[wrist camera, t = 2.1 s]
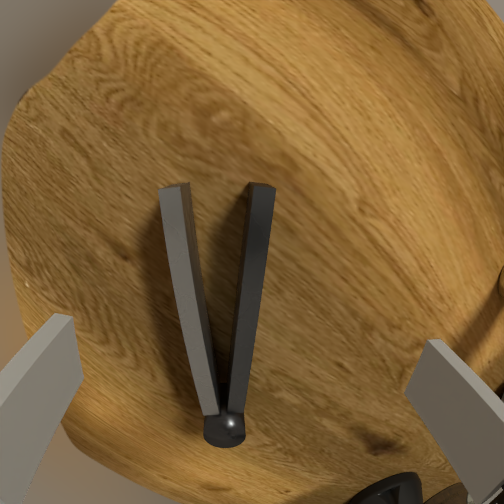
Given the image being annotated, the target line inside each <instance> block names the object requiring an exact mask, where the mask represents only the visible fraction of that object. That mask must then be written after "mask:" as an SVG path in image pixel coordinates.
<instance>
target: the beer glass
mask: <svg viewBox="0 0 504 504" xmlns="http://www.w3.org/2000/svg"><path fill="white" fill-rule="evenodd" d="M498 291H499V294H500V296H501V297H502V298H504V267H503V269H502V271H501V274H500V277H499V282H498Z"/></svg>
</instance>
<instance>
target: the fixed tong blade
mask: <svg viewBox="0 0 504 504" xmlns="http://www.w3.org/2000/svg"><path fill="white" fill-rule="evenodd" d="M275 194H276V188H274V187H272V186H271V185H269V184H264V183H256V182H249V190H248V198H247V206H246V215H245V223H244V231H243V240H242V249H241V257H240V266H239V275H238V283H237V292H236V301H235V310H234V319H233V328H232V338H231V347H230V356H229V366H228V375H227V383H220V410H219V415H205V417H204V432H203V436H204V439H205V440H206V442H208V443H209V444H211V445H213V446H215V447H220V448H231V447H235V446H238V445H239V444H241V443H242V442H243V441H244V440H245V437H246V434H245V421H244V407H245V401H246V394H247V388H248V382H249V375H250V369H251V362H252V356H253V349H254V342H255V336H256V329H257V322H258V316H259V309H260V302H261V295H262V288H263V281H264V274H265V267H266V260H267V253H268V245H269V238H270V231H271V224H272V216H273V209H274V201H275Z"/></svg>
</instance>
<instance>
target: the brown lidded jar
mask: <svg viewBox="0 0 504 504" xmlns="http://www.w3.org/2000/svg"><path fill="white" fill-rule="evenodd" d="M424 504H475V503H474V501H473V499H472V498H471V496H470V494H469V493H468V491H467V489H466V488H465V486H464V485H463V483H457V484H454V485H452V486H450V487H448V488H446V489H444V490H443V491H441V492H439V493H438V494H436V495H435V496H433V497H432V498H431V499H429V500H428V501H426V502H425V503H424Z"/></svg>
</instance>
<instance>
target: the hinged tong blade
mask: <svg viewBox="0 0 504 504" xmlns="http://www.w3.org/2000/svg"><path fill="white" fill-rule="evenodd" d="M158 192H159V200H160V208H161V215H162V222H163V229H164V235H165V242H166V248H167V254H168V260H169V266H170V271H171V277H172V283H173V288H174V293H175V298H176V303H177V308H178V313H179V318H180V323H181V327H182V332H183V337H184V341H185V345H186V350H187V354H188V358H189V363H190V367H191V371H192V375H193V379H194V383H195V387H196V390H197V394H198V398H199V402H200V405H201V409H202V413H203V416H204V415H219V410H220V379H219V373H218V368H217V363H216V358H215V352H214V347H213V341H212V335H211V330H210V324H209V318H208V312H207V306H206V300H205V293H204V287H203V281H202V274H201V267H200V260H199V253H198V246H197V239H196V231H195V223H194V216H193V207H192V199H191V190H190V182H188V183H180V184H173V185H169V186H166V187H164V188H161V189H158Z"/></svg>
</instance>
